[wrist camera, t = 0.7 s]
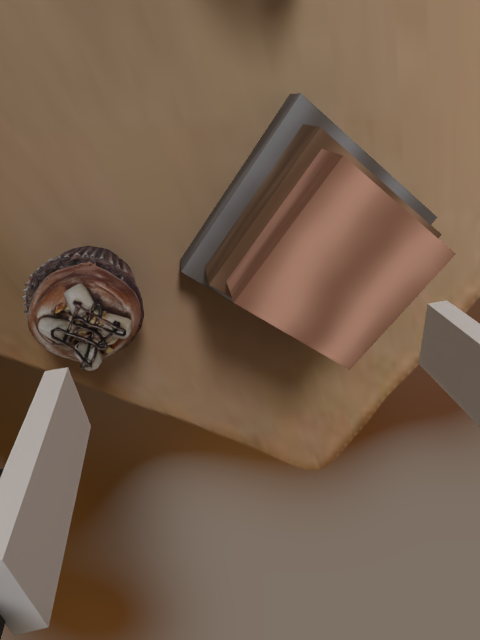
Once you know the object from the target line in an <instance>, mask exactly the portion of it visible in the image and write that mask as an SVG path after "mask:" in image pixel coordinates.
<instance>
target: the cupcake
mask: <svg viewBox="0 0 480 640" xmlns="http://www.w3.org/2000/svg"><path fill="white" fill-rule="evenodd" d="M29 279H30V281H28V282H27V283H25V286H27V287H28V288H26V289H25V290H23V291H24V292H25V293H26V295H25V296H23V300H26V302H25V303H24V305H23V306H25V307H27V309H26V310H25V312H24V313H26V314H28V319H27V321H28V326H29V330H30V332H31V333H32V335H33V336H34V338H35V339H36V340H37V341H38V342H39V343H40V344H41V345H42V346H43V347H44V348H46V349H47V350H48V351H50V352H52V353H53V354H56V355H58V356H61V357H64V358H68V359H71V360H73V361H77V362H81V366H80V368H81V369H86V370H87V371H93V370H95V369H97V368H98V367H99V366H100V364H101V363H102V359H104V358H107V357H109V356H110V355H112V354H113V353H115V352H118V351H119V350H121V349H123V348H125V347H126V346H128V345H129V344H130V343H131V342H132V341H133V339H134V338H135V336H136V335H137V333H138V332H139V330H140V329H141V326H142V322H143V318H144V310H143V303H142V298H141V295H140V292H139V289H138V286H137V284H136V281H135V278H134V276H133V274H132V271H131V269H130V268H129V266H128V264H127V263H125V262H124V261H123V260H122V259H119V258H118V256H117V255H115V254H114V253H113V252H111V251H110V250H107V249H104V248H98V247H92V246H84V247H77V248H75V249H71V250H69V251H67V252H65V253H63V254H61V255H59V256H57V257H55V258H52V259H49V261H48V262H46V263H44V264H43V265H41V266H40V267H39V268H38V269H37V270H36V271H35V272H34V273H33V274H31V275H30V278H29Z"/></svg>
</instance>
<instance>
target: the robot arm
mask: <svg viewBox="0 0 480 640" xmlns="http://www.w3.org/2000/svg"><path fill="white" fill-rule="evenodd" d="M419 364H420V365H421V366H422V368H423V369H425V371H426V372H427V373H428V374H429V375H430V376H431V377H432V378H433V379H434V380H435V381H436V382H437V383H438V384H439V385H440V386H441V387H442V388H443V389H444V390H445V391H446V392H447V393H448V394H449V395H450V396H451V397H452V398H453V400H454V401H455V402H456V403H458V405H459V406H460V407H461V408H462V409H463V410H464V411H465V412H466V413H467V414H468V415H469V416H470V417H471V418H472V419H473V420H474V421H475V422H476V423H477V424H478V425H479V426H480V324H479V323H478V322H476V321H475V320H473V319H472V318H471V317H469V316H468V315H466V314H465V313H464V312H462V311H461V310H459V309H458V308H457V307H455V306H454V305H452V304H451V303H450V302H448V301H441V302H435V303H430V304H428V305H427V312H426V318H425V325H424V331H423V338H422V345H421V351H420V358H419ZM90 427H91V426H90V423H89V420H88V418H87V415H86V413H85V410H84V407H83V405H82V402H81V400H80V397H79V394H78V392H77V389H76V387H75V384H74V381H73V379H72V376H71V374H70V371H69V368H68V367H67V368H61V369H55V370H50V371H45V372H44V375H43V377H42V380H41V382H40V384H39V387H38V389H37V391H36V394H35V396H34V399H33V401H32V404H31V406H30V408H29V411H28V413H27V415H26V418H25V420H24V422H23V425H22V427H21V430H20V432H19V434H18V437H17V439H16V441H15V444H14V446H13V449H12V451H11V453H10V456H9V458H8V460H7V463H6V465H5V468H4V469H1V470H0V639H1V635H2V632H3V628H4V624H6V625H7V627H8V628H9V629H10V630H11V631H12V633H13V634H14V635H18V634H22V633H26V632H30V631H35V630H39V629H43V628H47V627H49V622H50V618H51V613H52V608H53V603H54V599H55V593H56V589H57V584H58V580H59V575H60V570H61V565H62V561H63V556H64V551H65V546H66V542H67V537H68V532H69V528H70V523H71V518H72V513H73V509H74V504H75V499H76V494H77V489H78V485H79V480H80V475H81V471H82V466H83V461H84V456H85V452H86V447H87V442H88V437H89V433H90Z"/></svg>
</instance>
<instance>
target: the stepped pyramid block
mask: <svg viewBox="0 0 480 640" xmlns="http://www.w3.org/2000/svg"><path fill="white" fill-rule="evenodd" d="M436 218H437V217H436V216H435V215H434V214H433V213H432V212H431V211H430V210H429V209H427V208H426V207H425V206H424V205H423V204H422V203H421V202H420V201H419V200H418V199H416V198H415V197H414V196H413V195H412V194H411V193H410V192H409V191H408V190H407V189H405V188H404V187H403V186H402V185H401V184H400V183H399V182H398V181H397V180H396V179H394V178H393V177H392V176H391V175H390V174H389V173H388V172H387V171H386V170H385V169H383V168H382V167H381V166H380V165H379V164H378V163H377V162H376V161H375V160H374V159H372V158H371V157H370V156H369V155H368V154H367V153H366V152H365V151H364V150H363V149H361V148H360V147H359V146H358V145H357V144H356V143H355V142H354V141H353V140H352V139H350V138H349V137H348V136H347V135H346V134H345V133H344V132H343V131H342V130H341V129H339V128H338V127H337V126H336V125H335V124H334V123H333V122H332V121H331V120H330V119H328V118H327V117H326V116H325V115H324V114H323V113H322V112H321V111H320V110H319V109H317V108H316V107H315V106H314V105H313V104H312V103H311V102H310V101H309V100H308V99H306V98H305V97H304V96H303V95H302V94H290V95H289V97H288V98H287V100H286V101H285V103H284V104H283V106H282V107H281V109H280V110H279V112H278V113H277V115H276V116H275V118H274V119H273V121H272V122H271V124H270V125H269V127H268V128H267V130H266V131H265V133H264V134H263V136H262V137H261V139H260V140H259V142H258V143H257V145H256V146H255V148H254V149H253V151H252V152H251V154H250V156H249V157H248V159H247V160H246V162H245V163H244V165H243V166H242V168H241V169H240V171H239V172H238V174H237V175H236V177H235V178H234V180H233V181H232V183H231V184H230V186H229V187H228V189H227V190H226V192H225V193H224V195H223V196H222V198H221V199H220V201H219V202H218V204H217V205H216V207H215V208H214V210H213V211H212V213H211V214H210V216H209V217H208V219H207V220H206V222H205V223H204V225H203V226H202V228H201V230H200V231H199V233H198V234H197V236H196V237H195V239H194V240H193V242H192V243H191V245H190V246H189V248H188V249H187V251H186V252H185V254H184V255H183V257H182V258H181V260H180V265H181V272H182V273H184V274H185V275H187V276H189V277H190V278H192V279H194V280H196V281H197V282H199V283H201V284H203V285H204V286H206V287H208V288H209V289H211V290H213V291H215V292H216V293H218V294H220V295H222V296H223V297H225V298H227V299H228V300H230V301H232V302H234V303H235V304H237V305H238V306H240V307H242V308H244V309H245V310H247V311H249V312H250V313H252V314H254V315H256V316H257V317H259V318H261V319H263V320H264V321H266V322H268V323H269V324H271V325H273V326H275V327H276V328H278V329H280V330H281V331H283V332H285V333H287V334H288V335H290V336H292V337H294V338H295V339H297V340H299V341H300V342H302V343H304V344H306V345H307V346H309V347H311V348H313V349H314V350H316V351H318V352H319V353H321V354H323V355H325V356H326V357H328V358H330V359H332V360H333V361H335V362H337V363H338V364H340V365H342V366H344V367H345V368H347V369H349V370H350V369H351V368H352V367H353V366H354V364H355V363H356V362H357V361H358V360H359V359H360V358H361V357H362V356H363V355H364V354H365V352H366V351H367V350H368V349H369V348H370V347H371V346H372V345H373V344H374V343H375V342H376V340H377V339H378V338H379V337H380V336H381V335H382V334H383V333H384V332H385V331H386V330H387V328H388V327H389V326H390V325H391V324H392V323H393V322H394V321H395V320H396V319H397V318H398V316H399V315H400V314H401V313H402V312H403V311H404V310H405V309H406V308H407V307H408V305H409V304H410V303H411V302H412V301H413V300H414V299H415V298H416V297H417V296H418V295H419V293H420V292H421V291H422V290H423V289H424V288H425V287H426V286H427V285H428V284H429V283H430V281H431V280H432V279H433V278H434V277H435V276H436V275H437V274H438V273H439V272H440V271H441V269H442V268H443V267H444V266H445V265H446V264H447V263H448V262H449V261H450V260H451V258H452V257H453V256H454V255H455V253H454V252H453V251H452V250H451V249H449V248H448V247H447V246H446V245H445V244H444V243H443V242H441V241H440V240H439V239H438V238H439V237H440V236H441V234H440V233H439V232H438V231H437V230H436V229H435V228H433V227H432V226H431V224H432V223H433V222H434V221H435V219H436Z"/></svg>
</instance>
